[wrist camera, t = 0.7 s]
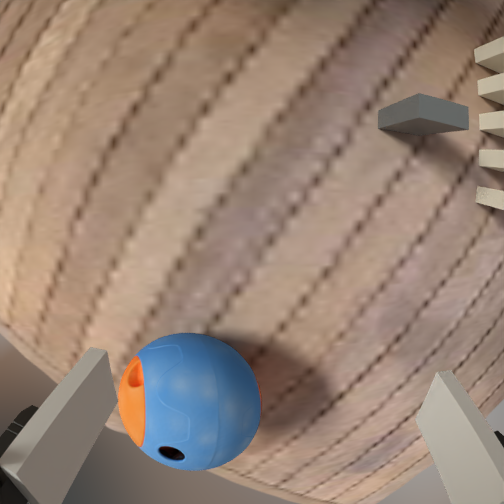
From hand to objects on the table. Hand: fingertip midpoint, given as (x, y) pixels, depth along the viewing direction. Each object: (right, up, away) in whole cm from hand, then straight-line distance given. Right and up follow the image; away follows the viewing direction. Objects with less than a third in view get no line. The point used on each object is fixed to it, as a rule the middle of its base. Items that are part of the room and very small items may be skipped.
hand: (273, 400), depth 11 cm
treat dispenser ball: (-7, -8, +28) cm, 30 cm away
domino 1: (+15, +19, +18) cm, 30 cm away
